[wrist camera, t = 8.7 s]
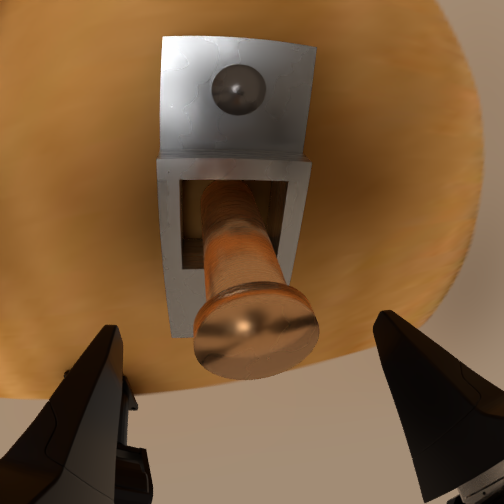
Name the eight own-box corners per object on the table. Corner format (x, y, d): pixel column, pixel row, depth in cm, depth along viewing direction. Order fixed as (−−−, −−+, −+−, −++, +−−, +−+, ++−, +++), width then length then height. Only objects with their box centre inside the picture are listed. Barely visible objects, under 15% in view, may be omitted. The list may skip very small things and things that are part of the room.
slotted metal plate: (270, 302, 23) (281, 339, 20) (172, 305, 22) (171, 345, 19) (306, 47, 13) (334, 47, 11) (166, 38, 12) (156, 32, 9)
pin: (258, 231, 19) (305, 373, 11) (192, 232, 19) (197, 382, 10) (265, 169, 17) (332, 295, 9) (192, 169, 16) (190, 302, 8)
